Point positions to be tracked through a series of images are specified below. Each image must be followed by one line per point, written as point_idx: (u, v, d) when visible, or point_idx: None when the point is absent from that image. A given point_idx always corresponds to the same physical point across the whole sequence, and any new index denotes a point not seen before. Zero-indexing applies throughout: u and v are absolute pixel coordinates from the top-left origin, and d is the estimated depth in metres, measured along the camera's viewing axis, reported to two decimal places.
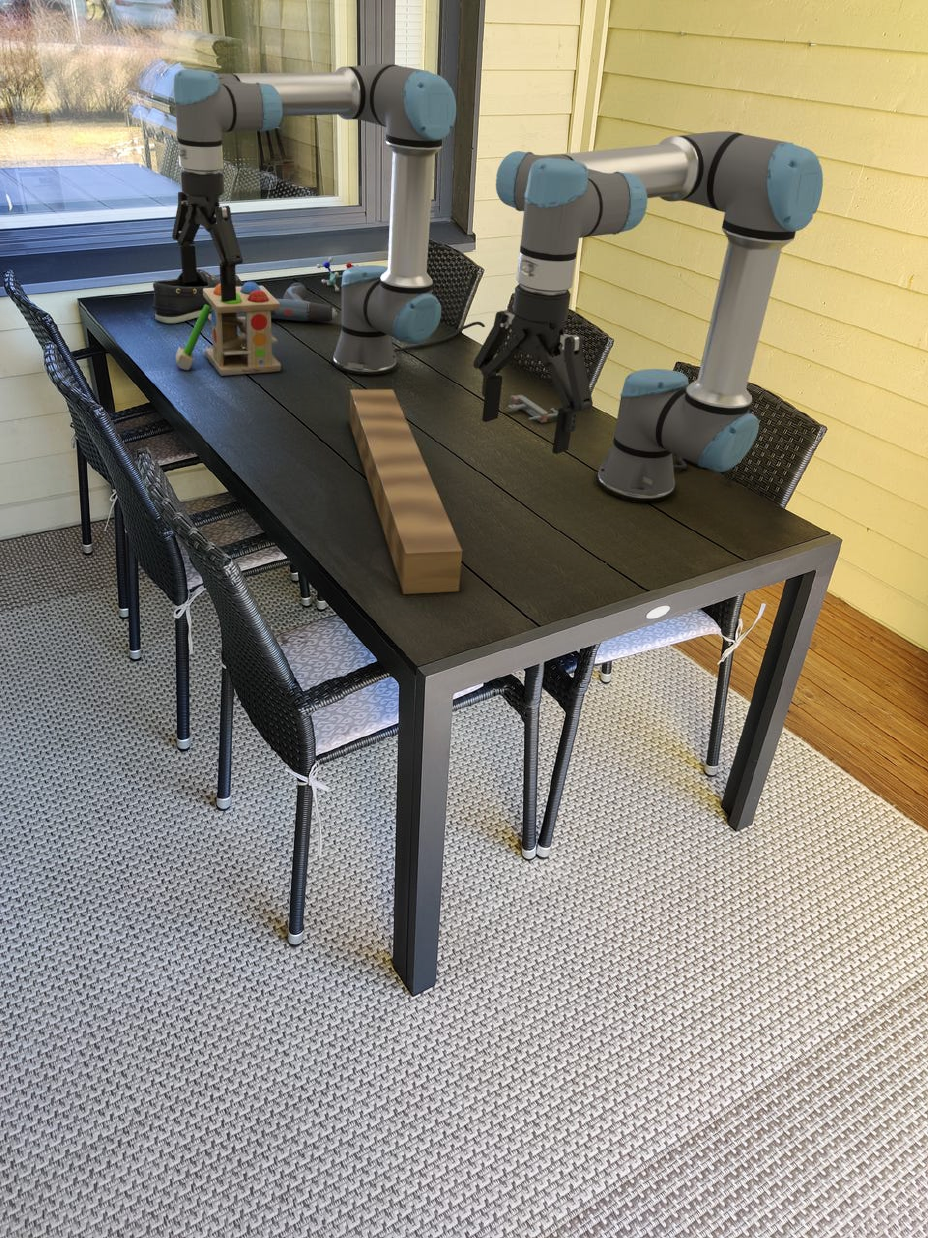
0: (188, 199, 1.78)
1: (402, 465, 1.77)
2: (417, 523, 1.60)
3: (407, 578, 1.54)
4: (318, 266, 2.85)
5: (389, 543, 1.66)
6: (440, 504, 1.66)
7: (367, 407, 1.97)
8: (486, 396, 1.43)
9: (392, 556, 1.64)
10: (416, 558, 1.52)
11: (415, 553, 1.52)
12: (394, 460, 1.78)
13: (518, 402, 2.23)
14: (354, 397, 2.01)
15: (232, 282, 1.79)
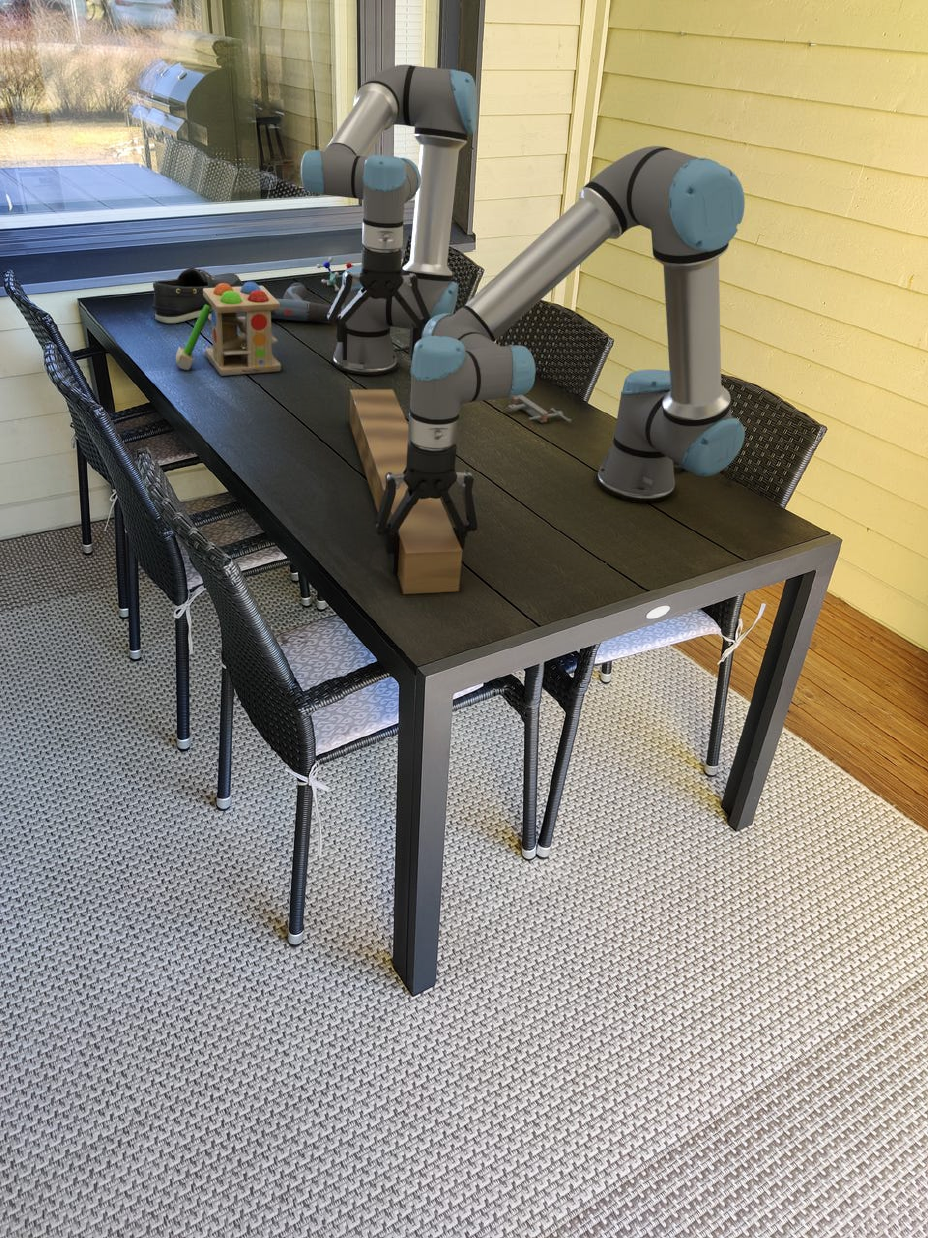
0: (364, 278, 1.85)
1: (402, 465, 1.77)
2: (417, 523, 1.60)
3: (407, 578, 1.54)
4: (318, 266, 2.85)
5: None
6: (440, 504, 1.66)
7: (367, 407, 1.97)
8: (396, 552, 1.57)
9: None
10: (416, 558, 1.52)
11: (415, 553, 1.52)
12: (394, 460, 1.78)
13: (518, 402, 2.23)
14: (354, 397, 2.01)
15: None
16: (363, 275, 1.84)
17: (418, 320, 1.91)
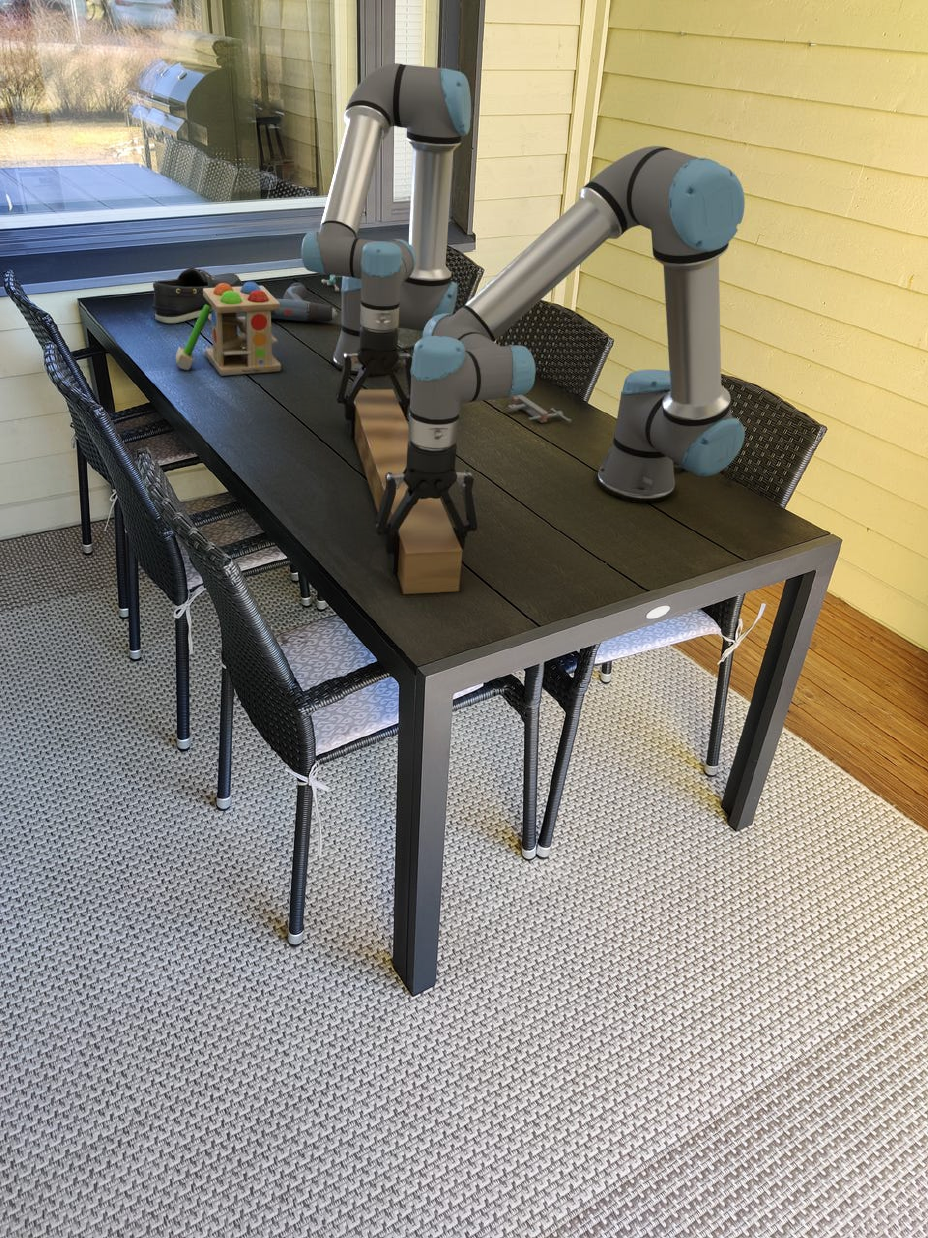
0: (362, 356, 1.93)
1: (402, 465, 1.77)
2: (417, 523, 1.60)
3: (407, 578, 1.54)
4: None
5: None
6: (440, 504, 1.66)
7: (367, 407, 1.97)
8: (396, 552, 1.57)
9: None
10: (416, 558, 1.52)
11: (415, 553, 1.52)
12: (394, 460, 1.78)
13: (518, 402, 2.23)
14: None
15: None
16: (360, 353, 1.93)
17: (405, 399, 2.00)
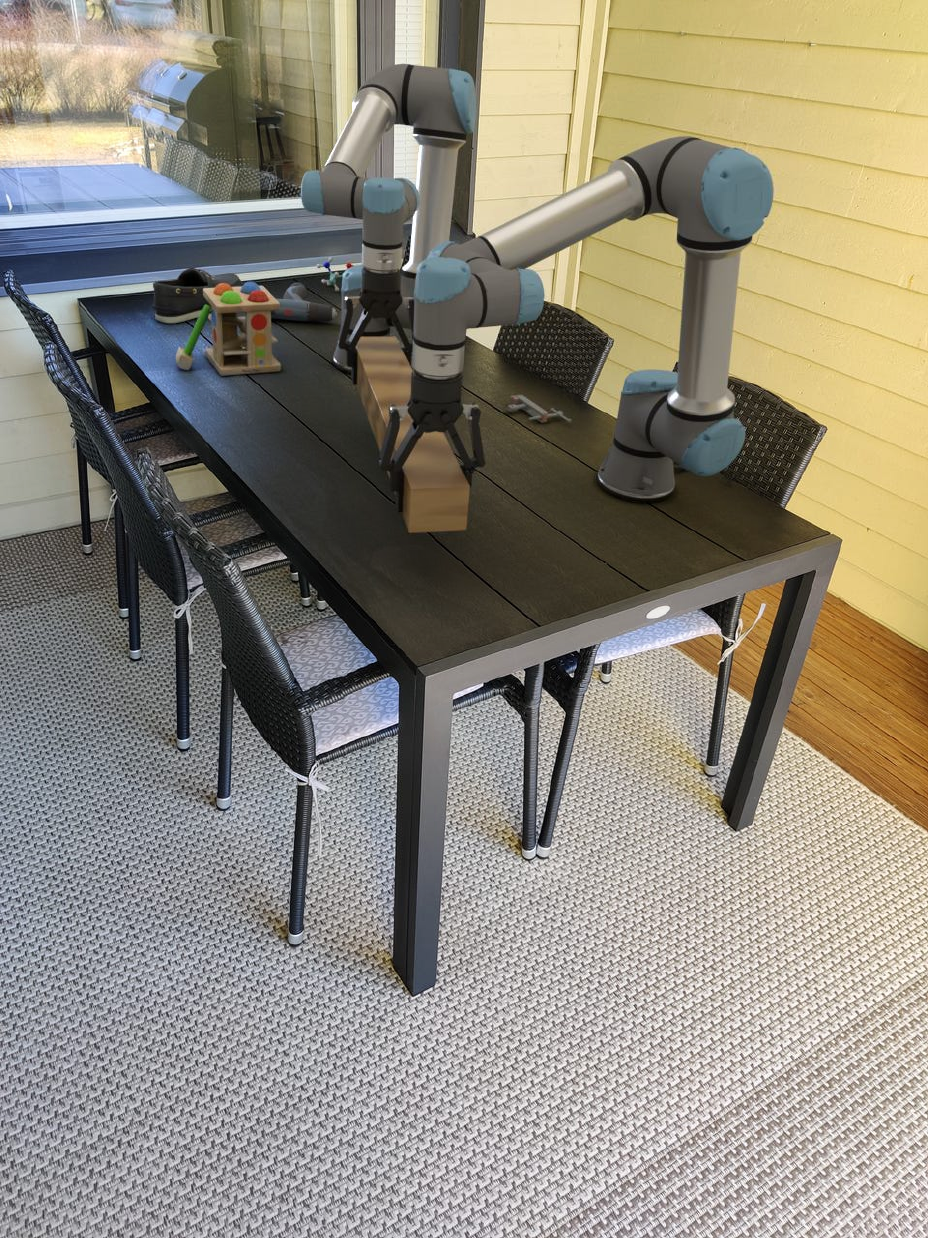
0: (363, 299, 1.87)
1: None
2: (423, 460, 1.54)
3: (412, 516, 1.48)
4: (318, 266, 2.85)
5: None
6: (446, 443, 1.60)
7: (369, 353, 1.91)
8: (401, 490, 1.51)
9: None
10: (422, 493, 1.46)
11: (420, 488, 1.46)
12: (398, 401, 1.72)
13: (518, 402, 2.23)
14: None
15: None
16: (362, 296, 1.86)
17: (408, 345, 1.94)
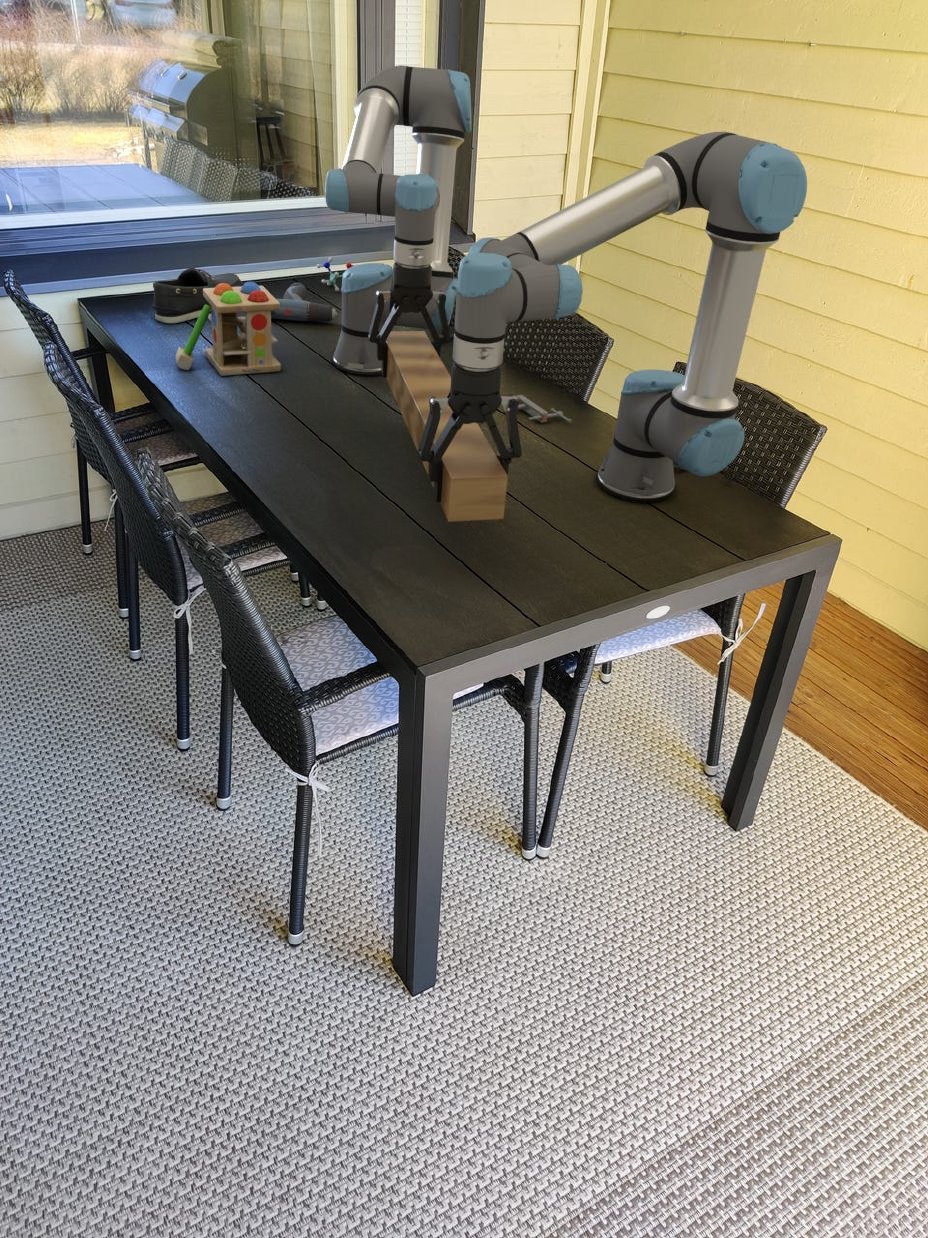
0: (395, 294, 1.91)
1: None
2: (460, 451, 1.57)
3: (452, 505, 1.52)
4: (318, 266, 2.85)
5: None
6: (481, 434, 1.63)
7: (400, 347, 1.95)
8: (440, 480, 1.55)
9: None
10: (461, 483, 1.50)
11: (460, 478, 1.50)
12: (432, 394, 1.76)
13: None
14: None
15: None
16: (393, 291, 1.90)
17: (438, 339, 1.98)
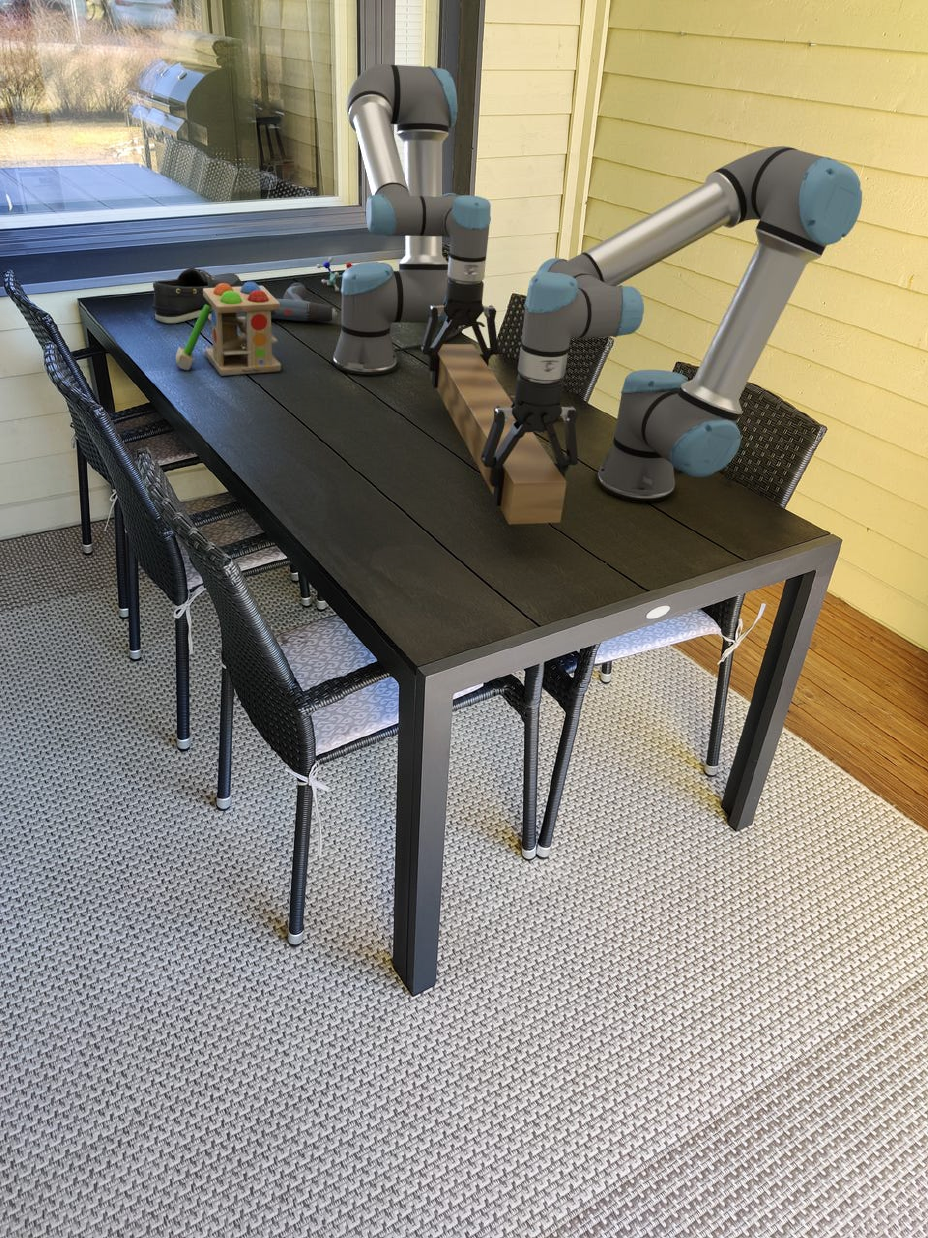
0: (448, 308, 2.00)
1: None
2: (520, 458, 1.67)
3: (513, 509, 1.61)
4: (318, 266, 2.85)
5: (488, 480, 1.73)
6: (538, 442, 1.73)
7: (451, 359, 2.04)
8: (501, 485, 1.64)
9: (493, 491, 1.71)
10: (523, 488, 1.59)
11: (522, 483, 1.59)
12: (487, 404, 1.85)
13: None
14: None
15: None
16: (447, 305, 2.00)
17: (487, 351, 2.07)
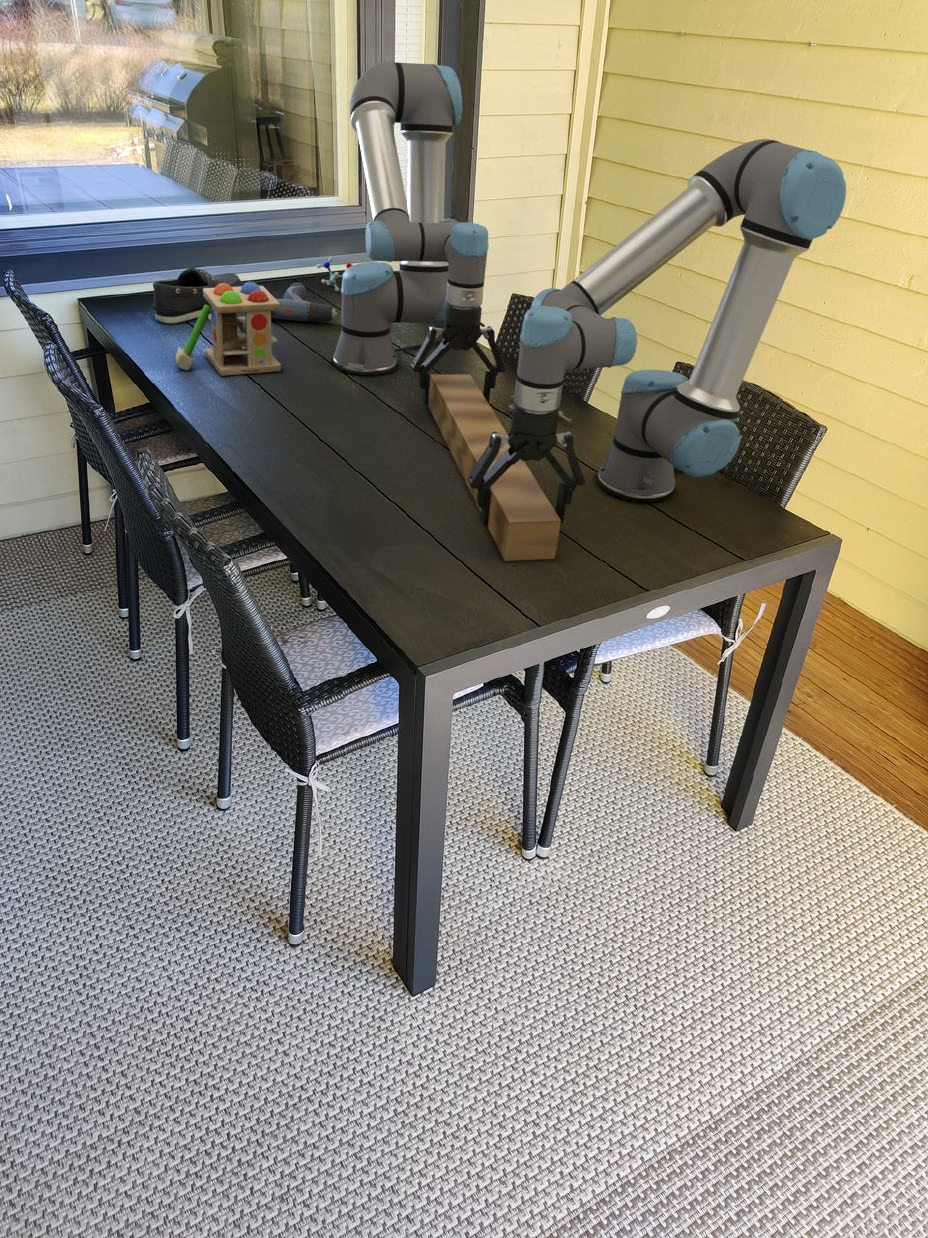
0: (447, 332, 2.03)
1: None
2: (515, 495, 1.71)
3: (509, 546, 1.65)
4: (318, 266, 2.85)
5: None
6: (533, 478, 1.77)
7: (449, 391, 2.08)
8: (487, 506, 1.66)
9: (489, 527, 1.75)
10: (518, 526, 1.63)
11: (518, 522, 1.63)
12: (483, 438, 1.89)
13: None
14: (435, 381, 2.12)
15: None
16: (446, 329, 2.03)
17: (493, 368, 2.10)
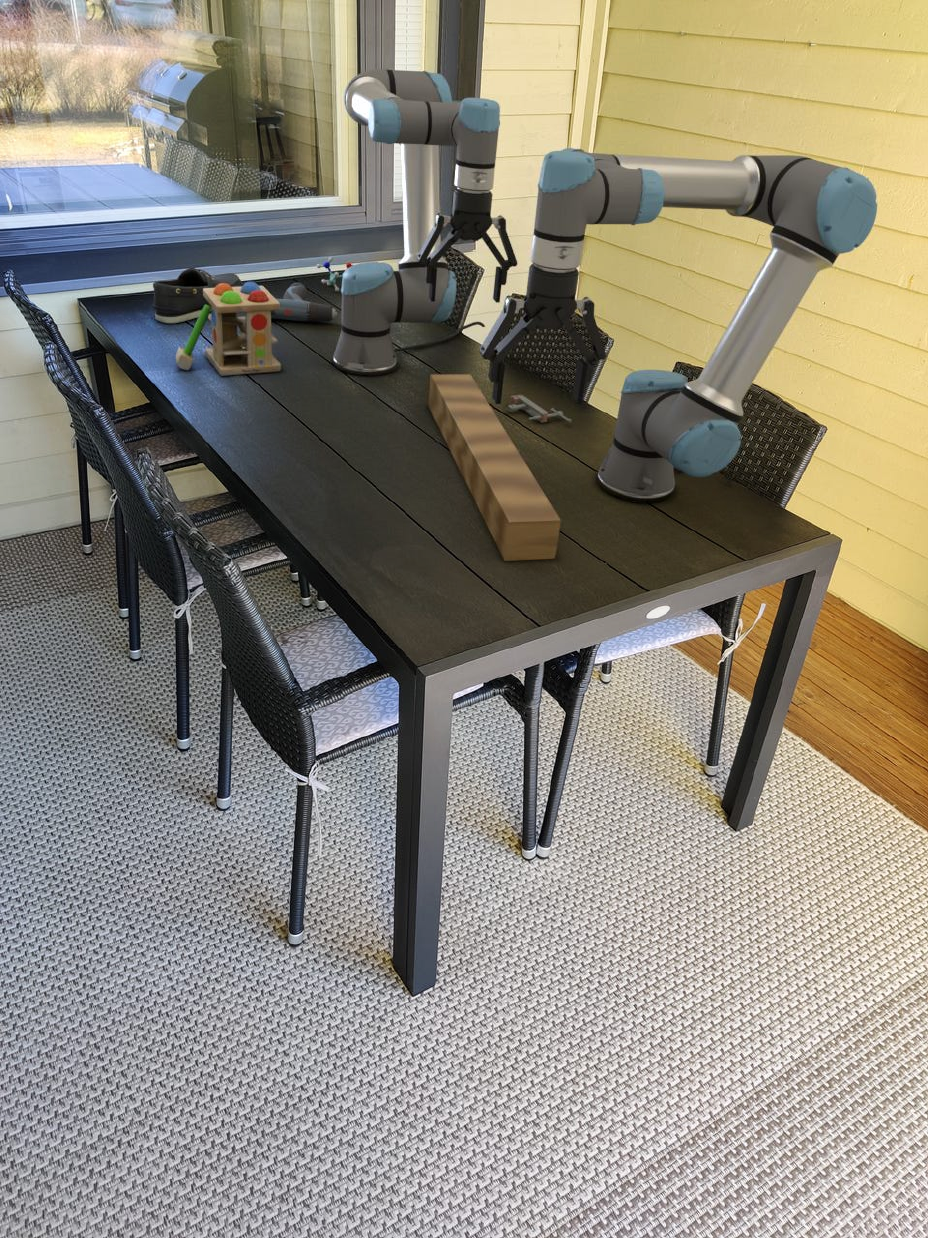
0: (455, 220, 1.91)
1: (492, 443, 1.88)
2: (515, 495, 1.71)
3: (509, 546, 1.65)
4: (318, 266, 2.85)
5: (485, 515, 1.77)
6: (533, 478, 1.77)
7: (449, 391, 2.08)
8: (500, 380, 1.54)
9: (489, 527, 1.75)
10: (518, 526, 1.63)
11: (518, 522, 1.63)
12: (483, 438, 1.89)
13: (518, 402, 2.23)
14: (435, 381, 2.12)
15: None
16: (454, 216, 1.90)
17: (504, 262, 1.97)
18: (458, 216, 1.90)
